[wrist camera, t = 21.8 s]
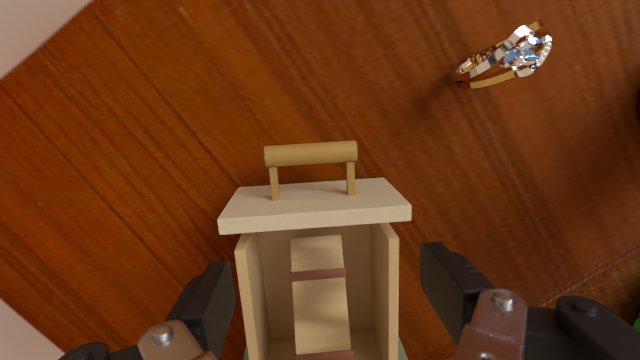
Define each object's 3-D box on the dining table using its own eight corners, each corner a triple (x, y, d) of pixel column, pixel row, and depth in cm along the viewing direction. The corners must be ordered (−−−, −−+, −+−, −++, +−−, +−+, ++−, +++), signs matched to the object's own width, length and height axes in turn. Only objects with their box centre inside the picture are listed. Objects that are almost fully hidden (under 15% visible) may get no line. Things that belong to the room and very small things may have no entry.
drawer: (232, 140, 29) (207, 157, 21) (383, 131, 29) (413, 144, 22) (257, 338, 34) (244, 408, 27) (384, 326, 35) (408, 392, 27)
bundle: (350, 376, 28) (338, 236, 31) (358, 400, 24) (343, 234, 26) (298, 381, 28) (291, 240, 30) (296, 405, 24) (287, 238, 26)
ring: (443, 96, 30) (493, 98, 22) (429, 64, 29) (476, 54, 21) (513, 57, 29) (589, 45, 22) (500, 23, 28) (575, -3, 21)
